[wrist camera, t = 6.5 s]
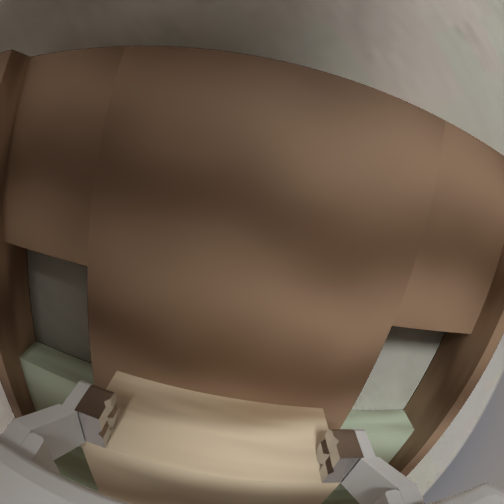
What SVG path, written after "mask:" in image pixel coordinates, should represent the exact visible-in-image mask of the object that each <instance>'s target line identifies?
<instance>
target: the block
mask: <svg viewBox="0 0 504 504" xmlns="http://www.w3.org/2000/svg"><path fill="white" fill-rule="evenodd" d="M106 390H109V391H112V392H114V393H116V394H117V399H118V400H117V402H116V405H117V406H118V409H119V415H118V420H117V424H116V426H115V428H114V429H112V430H110V436H111V437H110V439H109V441H108V443H107V445H106V447H105V448H103V447H100V446H98V445H95V444H92V443H89V442H87V441H85V443H83V444H81V446H82V449H83V452H84V454H85V457H86V460H87V463H88V465H89V468H90V471H91V473H92V476H93V478H94V480H95V483H96V485H97V488H98V490H99V492H100V493H102V494H105V495H108V496H110V497H113V498H116V499H119V500H122V501H125V502H128V503H131V504H322V502H323V501H324V500H325V499H326V498H327V497H328V496H329V495H330V494H331V493H332V492H333V491H334V489H335V488H336V487H337V486H338V485H339V484H340V483H341V482H339V483H322V481H321V477H320V472H319V470H320V469H321V467H322V466H321V465H320V464H319V463H318V462H317V449H318V446H319V444H320V442H321V441H323V440H324V439H325V434H326V432H327V431H328V430H329V429H328V425H327V422H326V418H325V414H324V411H323V408H311V407H298V406H287V405H278V404H269V403H261V402H254V401H247V400H240V399H234V398H228V397H222V396H217V395H211V394H206V393H201V392H196V391H192V390H187V389H183V388H178V387H174V386H170V385H166V384H162V383H158V382H154V381H151V380H147V379H143V378H140V377H136V376H133V375H130V374H126V373H123V372H120V371H117V372H116V373H115V375H114V376H113V378H112V380H111V381H110V383H109V385H108V386H107V388H106Z"/></svg>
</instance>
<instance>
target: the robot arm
mask: <svg viewBox="0 0 504 504" xmlns="http://www.w3.org/2000/svg"><path fill="white" fill-rule="evenodd" d="M117 400H118V399H117V394H116V393H114V392H112V391H109V390H106V389H103V388H101V387H98V386H96V385H93V384H90V383H88V382H85V381H83V380H81V381H79V382H78V383H77V385H76V386H75V387H74V389H73V390H72V392H71V393H70V394H69V396H68V397H67V398H66V400H65V401H64V403H63V404H62V405H61V404H56V405H54V406H51V407H48V408H45V409H42V410H39V411H37V412H34V413H31V414H28V415H25V416H22V417H19V418H15V419H13V420H12V421H11V423H10V424H9V425H8V427H7V428H6V429H5V430H4V432H3V433H2V434H1V436H0V504H131V503H128V502H125V501H122V500H119V499H116V498H113V497H110V496H108V495H105V494H102V493H100V492H97V491H95V490H92V489H90V488H87V487H85V486H82V485H80V484H78V483H76V482H73V481H71V480H69V479H67V478H65V477H63V476H61V475H60V472H59V470H58V468H57V466H56V464H55V462H54V460H55V459H57V458H59V457H60V456H62V455H64V454H66V453H68V452H69V451H71V450H73V449H74V448H76V447H78V446H80V445H81V444H83V443H85V441H87V442H89V443H92V444H95V445H98V446H100V447H103V448H105V447H106V445H107V443H108V441H109V439H110V437H111V436H110V430H112V429H114V428H115V426H116V424H117V420H118V415H119V409H118V406H117V405H116V402H117ZM317 462H318V463H319V464H320V465H321V466H322V467H321V469H320V470H319V472H320V477H321V481H322V483H339V482H342V483H341V484H342V485H343V486H344V487H345V488H346V489H347V490H348V492H349V493H350V494H351V495H352V496H353V497H354V498H355V499H356V500H357V501H358V502H359V503H360V504H425V503H424V501H423V498H422V496H421V494H420V491H419V489H418V487H417V484H416V483H414V482H413V481H411V480H410V479H408V478H407V477H406V476H404V475H403V474H401V473H400V472H399V471H397V470H396V469H395V468H393V467H392V466H391V465H389V464H388V463H387V462H385V461H384V460H383V459H381V458H380V457H376V456H375V453H374V451H373V448H372V446H371V443H370V441H369V438H368V436H367V433H366V431H365V430H364V429H329V430H328V431H327V432H326V434H325V439H324V440H323V441H321V442H320V444H319V446H318V449H317ZM431 504H504V491H502V490H500V489H499V488H497V487H495V486H493V485H491V484H488V483H483V484H480V485H478V486H475V487H473V488H471V489H468V490H466V491H464V492H461V493H459V494H456V495H453V496H451V497H448V498H446V499H442V500H439V501H437V502H434V503H431Z"/></svg>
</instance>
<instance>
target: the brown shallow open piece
mask: <svg viewBox="0 0 504 504" xmlns="http://www.w3.org/2000/svg"><path fill="white" fill-rule="evenodd" d="M27 249H29V250H32V251H36V252H39V253H42V254H46V255H49V256H53V257H56V258H60V259H63V260H67V261H70V262H74V263H78V264H81V265H85V266H87V301H88V326H89V341H90V353H91V363H89V362H86V361H83V360H81V359H78V358H75V357H73V356H70V355H68V354H65V353H63V352H60V351H58V350H55V349H53V348H51V347H48V346H46V345H44V344H42V343H39V342H37V341H36V338H35V332H34V326H33V319H32V312H31V304H30V295H29V283H28V268H27ZM392 326H398V327H406V328H415V329H424V330H433V331H443V332H446V333H445V335H444V337H443V339H442V342H441V344H440V346H439V348H438V350H437V352H436V354H435V356H434V358H433V360H432V362H431V364H430V366H429V367H428V369H427V371H426V373H425V375H424V377H423V378H422V380H421V382H420V384H419V385H418V387H417V389H416V391H415V392H414V394H413V396H412V397H411V399H410V401H409V402H408V404H407V405H406V407H405V409H404V410H391V411H351V409H352V407H353V405H354V404H355V402H356V400H357V398H358V396H359V394H360V392H361V391H362V389H363V387H364V385H365V383H366V381H367V379H368V377H369V375H370V373H371V371H372V369H373V367H374V365H375V363H376V360H377V358H378V356H379V354H380V352H381V350H382V347H383V345H384V343H385V341H386V338H387V336H388V334H389V331H390V329H391V327H392ZM503 334H504V156H503V155H502V154H500V153H499V152H497V151H496V150H494V149H493V148H491V147H490V146H488V145H486V144H485V143H483V142H482V141H480V140H478V139H477V138H475V137H474V136H472V135H470V134H468V133H467V132H465V131H463V130H462V129H460V128H458V127H456V126H454V125H453V124H451V123H449V122H447V121H445V120H443V119H441V118H439V117H437V116H435V115H433V114H431V113H429V112H427V111H425V110H423V109H421V108H419V107H417V106H415V105H412V104H410V103H408V102H406V101H404V100H401V99H399V98H397V97H394V96H392V95H389V94H387V93H384V92H382V91H379V90H377V89H374V88H371V87H369V86H366V85H363V84H360V83H357V82H355V81H352V80H349V79H346V78H343V77H339V76H336V75H333V74H330V73H326V72H323V71H319V70H316V69H312V68H308V67H304V66H301V65H297V64H292V63H288V62H284V61H279V60H274V59H269V58H264V57H259V56H254V55H248V54H241V53H235V52H228V51H220V50H211V49H201V48H189V47H173V46H114V47H98V48H87V49H77V50H69V51H62V52H55V53H49V54H43V55H38V56H33V57H29V56H27V55H24V54H22V53H19V52H17V51H14V50H8V51H5V52H2V53H0V381H1V384H2V386H3V389H4V392H5V394H6V397H7V399H8V402H9V404H10V407H11V409H12V412H13V414H14V416H15V418H19V417H22V416H25V415H28V414H31V413H34V412H37V411H39V410H42V409H45V408H48V407H51V406H54V405H56V404H61V405H62V404H63V403H64V401H65V400H66V398H67V397H68V396H69V394H70V393H71V392H72V390H73V389H74V387H75V386H76V385H77V383H78V382H79V381H81V380H83V381H85V382H88V383H90V384H93V385H96V386H98V387H101V388H103V389H106V388H107V386H108V385H109V383H110V381H111V380H112V378H113V376H114V375H115V373H116V372H117V371H120V372H123V373H126V374H130V375H133V376H136V377H140V378H143V379H147V380H151V381H154V382H158V383H162V384H166V385H170V386H174V387H178V388H183V389H187V390H192V391H196V392H201V393H206V394H211V395H217V396H222V397H228V398H234V399H240V400H247V401H254V402H261V403H269V404H278V405H287V406H298V407H311V408H323V411H324V414H325V418H326V422H327V425H328V429H364V430H365V431H366V433H367V436H368V438H369V441H370V443H371V446H372V448H373V451H374V453H375V456H376V457H380V458H381V459H383V460H384V461H385V462H387V463H388V464H389V465H391V466H392V467H393V468H395V469H396V470H397V471H399V472H400V473H401V474H403V475H404V476H407V475H408V474H409V473H410V472H411V471H412V470H413V469H414V468H415V466H416V465H417V464H418V463H419V462H420V461H421V460H422V459H423V457H424V456H425V455H426V454H427V453H428V452H429V450H430V449H431V448H432V447H433V446H434V444H435V443H436V442H437V441H438V439H439V438H440V437H441V435H442V434H443V433H444V432H445V430H446V429H447V428H448V426H449V425H450V424H451V422H452V421H453V419H454V418H455V417H456V415H457V414H458V412H459V411H460V409H461V408H462V406H463V405H464V403H465V402H466V400H467V399H468V397H469V396H470V394H471V393H472V391H473V389H474V388H475V386H476V384H477V383H478V381H479V379H480V378H481V376H482V374H483V372H484V371H485V369H486V367H487V365H488V363H489V362H490V360H491V358H492V356H493V354H494V352H495V350H496V348H497V346H498V344H499V342H500V340H501V338H502V336H503ZM54 462H55V464H56V466H57V468H58V470H59V472H60V475H61V476H63V477H65V478H67V479H69V480H71V481H73V482H76V483H78V484H80V485H82V486H85V487H87V488H90V489H92V490H95V491H97V492H99V490H98V488H97V485H96V483H95V480H94V478H93V476H92V473H91V471H90V468H89V465H88V463H87V460H86V457H85V454H84V452H83V449H82V446H81V445H80V446H78V447H76V448H74V449H73V450H71V451H69V452H68V453H66V454H64V455H62V456H60V457H59V458H57V459H55V460H54ZM341 483H342V482H341ZM341 483H340V484H339V485H338V486H337V487H336V488H335V489H334V491H333V492H332V493H331V494H330V495H329V496H328V497H327V498H326V499H325V500H324V501H323V502H322V504H360V503H359V502H358V501H357V500H356V499H355V498H354V497H353V496H352V495H351V494H350V493H349V492H348V490H347V489H346V488H345V487H344V486H343V485H342V484H341Z"/></svg>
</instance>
